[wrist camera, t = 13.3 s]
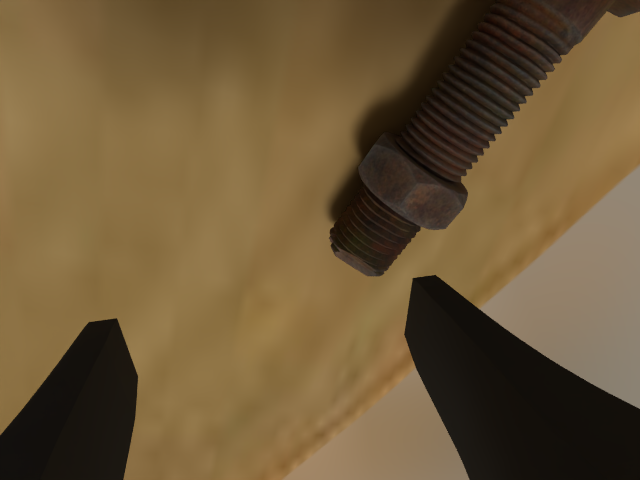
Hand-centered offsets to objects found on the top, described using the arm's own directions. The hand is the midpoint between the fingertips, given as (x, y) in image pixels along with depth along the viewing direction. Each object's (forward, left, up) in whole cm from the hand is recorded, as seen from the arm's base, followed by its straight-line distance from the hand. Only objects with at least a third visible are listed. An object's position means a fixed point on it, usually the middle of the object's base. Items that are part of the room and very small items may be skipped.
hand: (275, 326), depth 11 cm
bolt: (+7, +4, -10) cm, 13 cm away
